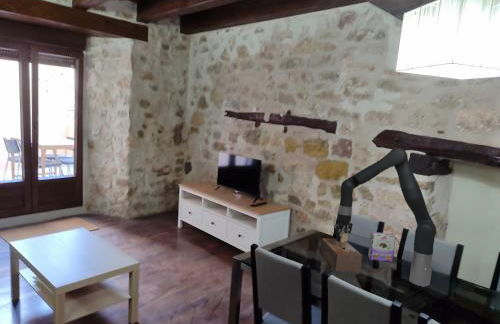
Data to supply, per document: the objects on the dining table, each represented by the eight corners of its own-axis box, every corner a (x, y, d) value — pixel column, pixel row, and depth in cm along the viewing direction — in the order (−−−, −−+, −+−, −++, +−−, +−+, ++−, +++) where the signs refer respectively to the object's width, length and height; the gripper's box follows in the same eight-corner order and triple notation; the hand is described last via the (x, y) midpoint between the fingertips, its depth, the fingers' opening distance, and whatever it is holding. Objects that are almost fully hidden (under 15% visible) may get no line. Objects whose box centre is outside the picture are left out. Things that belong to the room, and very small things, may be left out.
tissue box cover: (360, 272, 198) (362, 255, 197) (335, 271, 196) (337, 254, 195) (342, 254, 224) (344, 239, 223) (320, 253, 222) (322, 238, 221)
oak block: (346, 246, 208) (348, 233, 207) (341, 248, 206) (342, 235, 204) (340, 244, 212) (342, 231, 211) (335, 245, 209) (336, 232, 208)
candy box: (390, 258, 222) (393, 233, 219) (392, 262, 216) (396, 236, 214) (367, 256, 223) (370, 231, 221) (369, 260, 217) (373, 234, 215)
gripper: (341, 215, 199) (338, 244, 201) (358, 213, 207) (354, 241, 209) (331, 212, 205) (328, 240, 207) (348, 210, 213) (345, 237, 216)
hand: (341, 240), depth 208 cm, fingers open, 5 cm apart
